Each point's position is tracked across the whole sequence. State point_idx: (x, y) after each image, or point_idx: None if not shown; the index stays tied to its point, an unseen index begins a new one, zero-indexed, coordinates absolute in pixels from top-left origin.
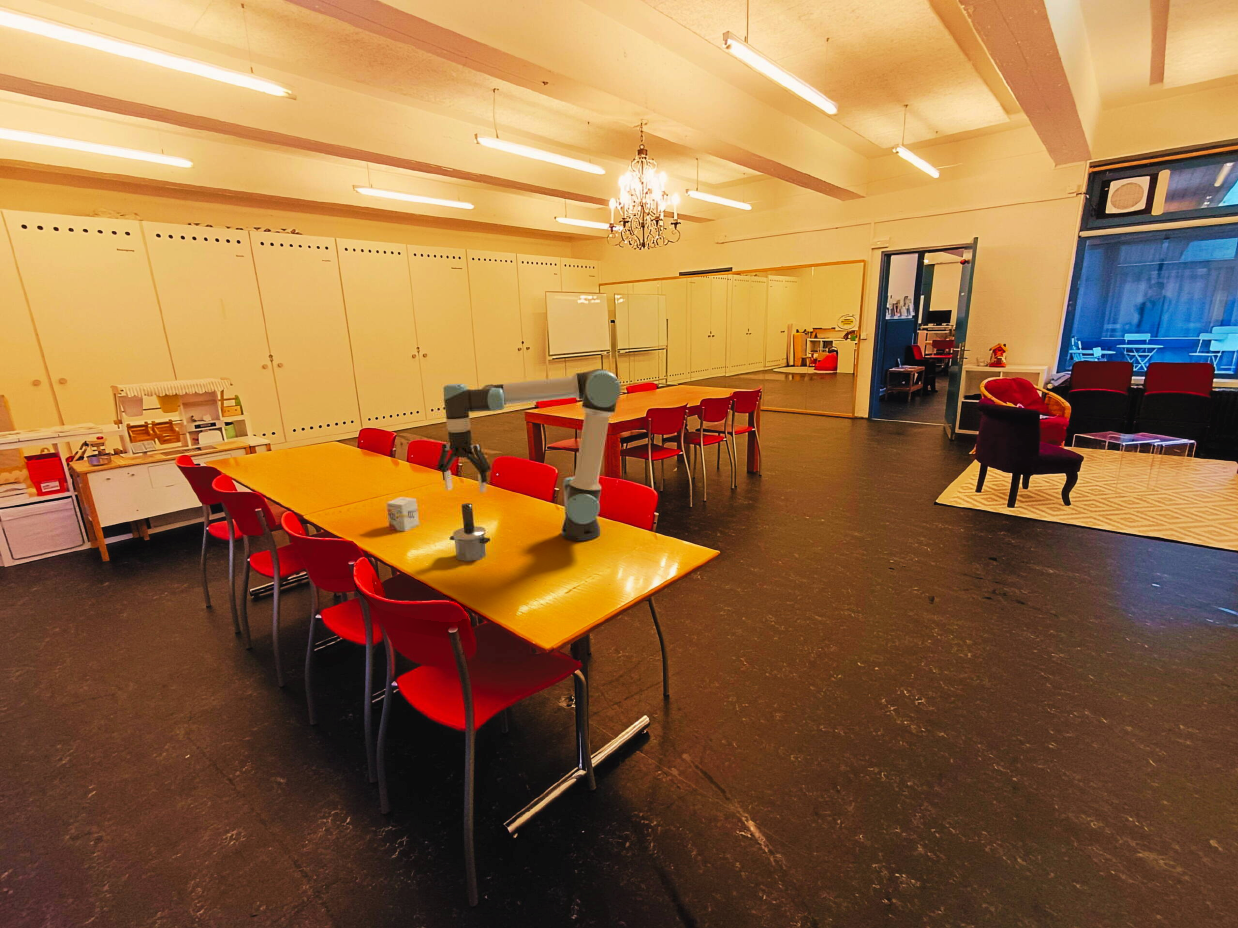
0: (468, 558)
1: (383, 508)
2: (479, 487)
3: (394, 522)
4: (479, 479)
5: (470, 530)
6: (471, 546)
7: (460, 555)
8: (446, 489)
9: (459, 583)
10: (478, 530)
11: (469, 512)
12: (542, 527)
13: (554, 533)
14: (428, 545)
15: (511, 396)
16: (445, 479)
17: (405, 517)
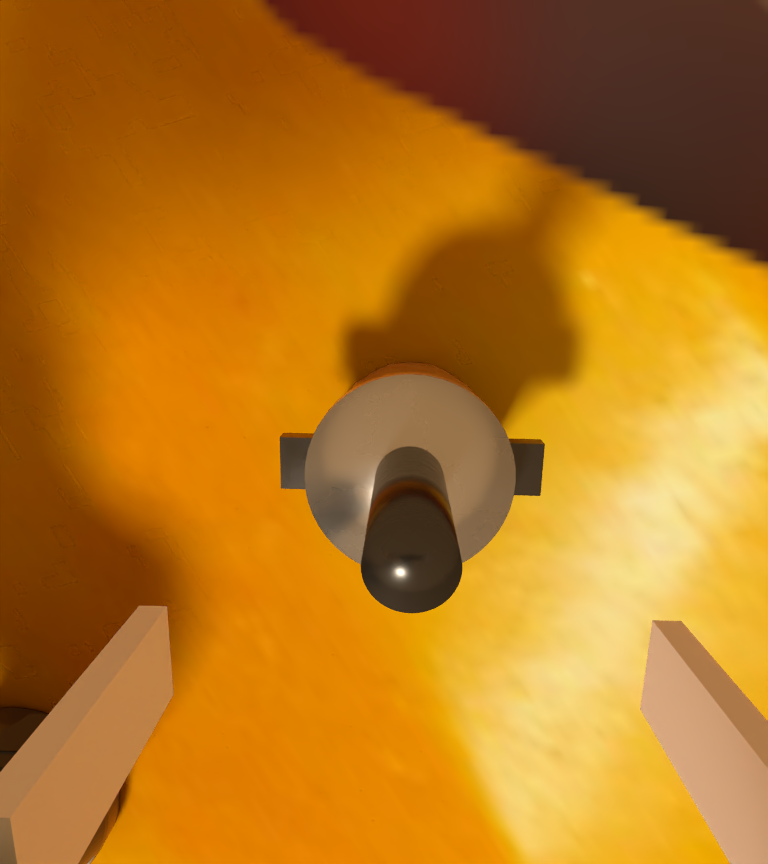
0: (380, 369)
1: None
2: (132, 644)
3: None
4: (52, 733)
5: (383, 463)
6: None
7: (426, 366)
8: (679, 628)
9: (269, 105)
10: (361, 512)
11: (373, 515)
12: (254, 827)
13: (156, 772)
14: (728, 507)
15: None
16: (761, 730)
17: None
